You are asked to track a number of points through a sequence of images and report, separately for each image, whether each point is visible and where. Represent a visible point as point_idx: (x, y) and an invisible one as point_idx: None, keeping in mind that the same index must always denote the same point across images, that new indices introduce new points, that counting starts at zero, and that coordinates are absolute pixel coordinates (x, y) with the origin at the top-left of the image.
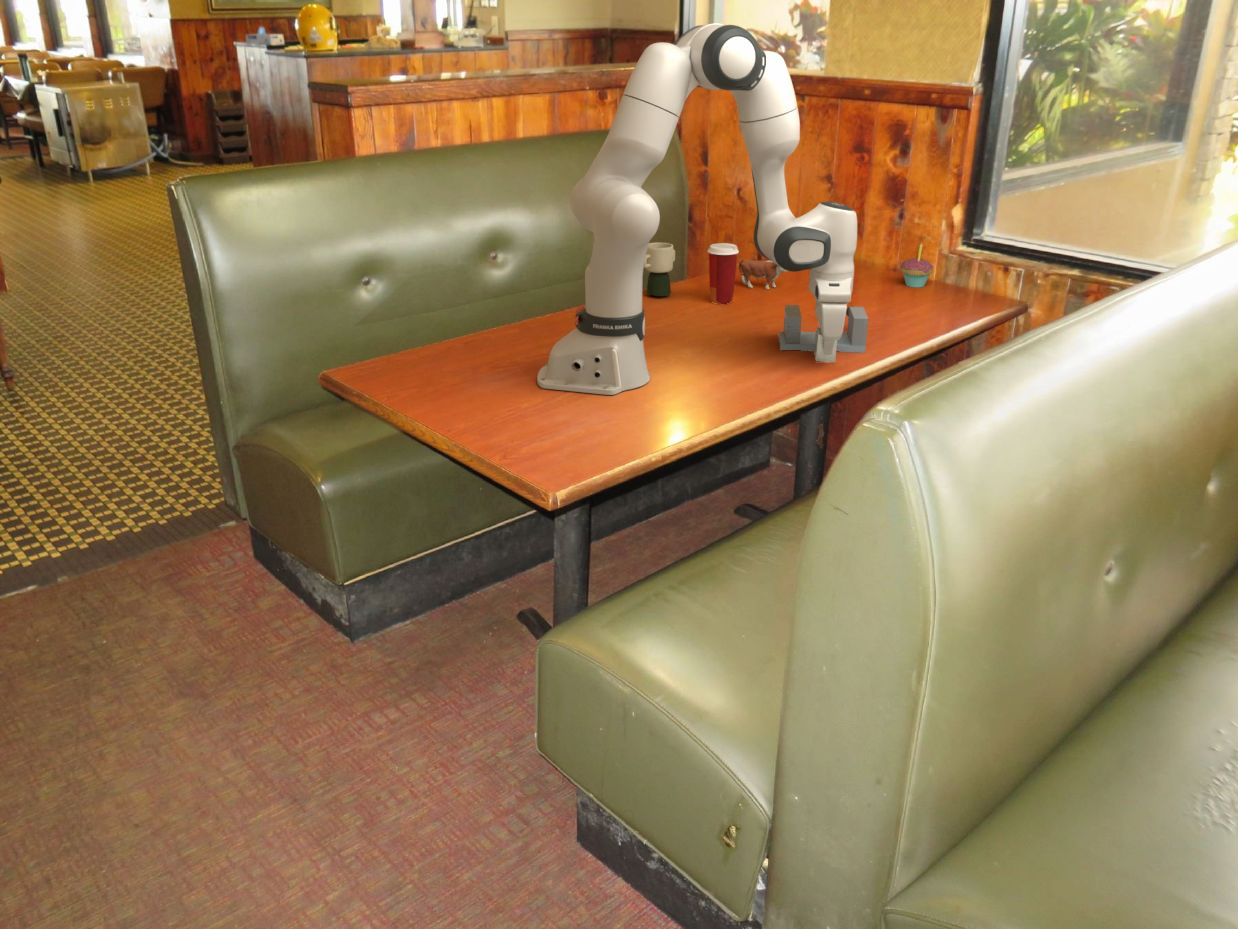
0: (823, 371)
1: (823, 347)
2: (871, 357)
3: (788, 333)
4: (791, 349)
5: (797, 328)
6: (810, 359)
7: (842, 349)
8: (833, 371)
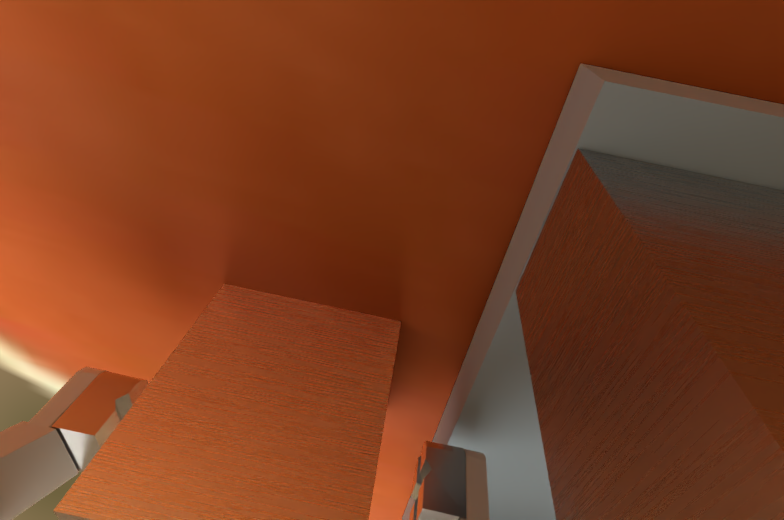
0: (34, 270)
1: (94, 412)
2: None
3: (602, 247)
4: (533, 188)
5: (566, 417)
6: (280, 267)
7: None
8: (60, 321)
